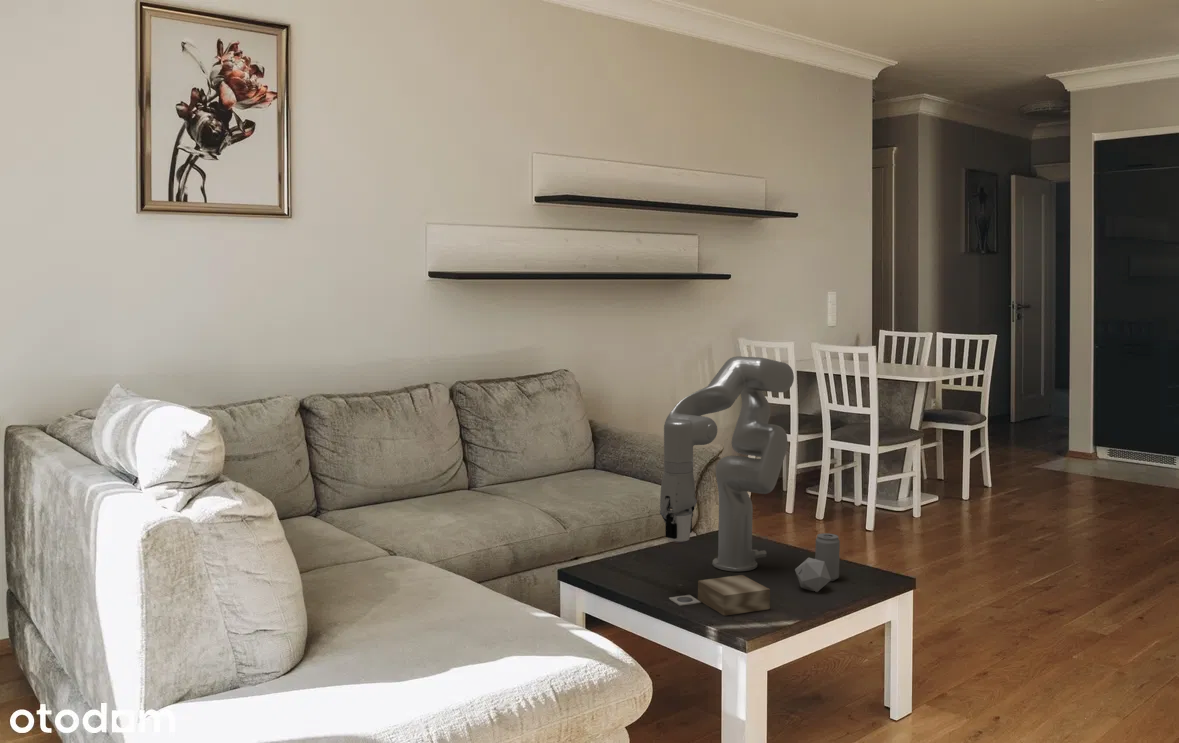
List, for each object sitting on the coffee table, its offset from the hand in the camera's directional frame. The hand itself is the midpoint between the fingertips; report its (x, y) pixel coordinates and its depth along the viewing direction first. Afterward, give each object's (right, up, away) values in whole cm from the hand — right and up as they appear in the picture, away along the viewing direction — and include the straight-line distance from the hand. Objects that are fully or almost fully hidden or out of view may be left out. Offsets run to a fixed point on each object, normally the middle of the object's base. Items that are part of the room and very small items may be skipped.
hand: (678, 534), depth 254 cm
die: (+36, -15, +3) cm, 39 cm away
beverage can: (+42, -14, +12) cm, 46 cm away
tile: (+1, -16, -7) cm, 17 cm away
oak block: (+13, -16, -10) cm, 23 cm away
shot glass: (0, -1, 0) cm, 1 cm away
